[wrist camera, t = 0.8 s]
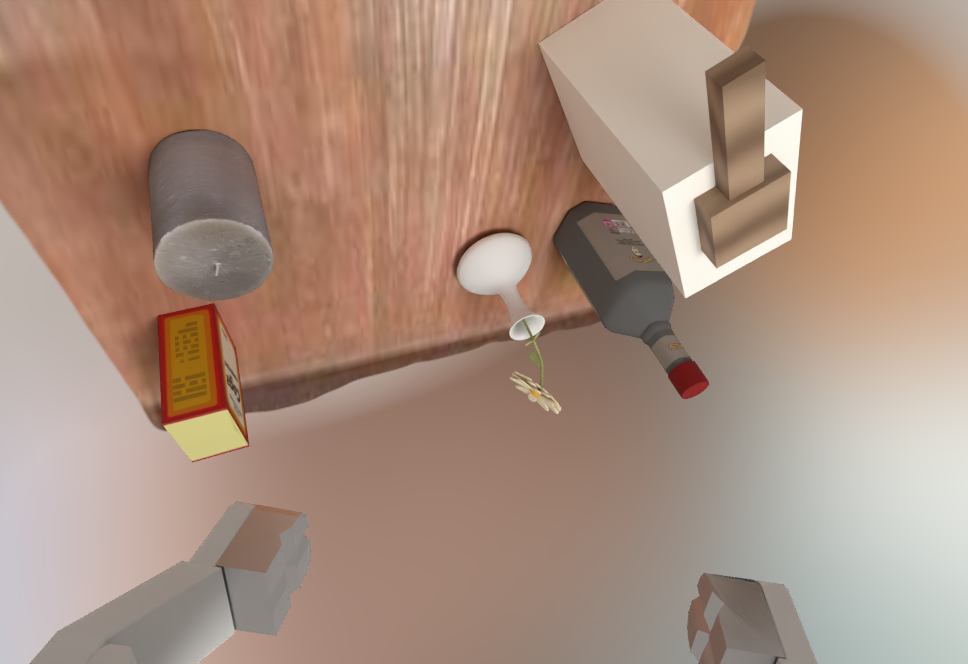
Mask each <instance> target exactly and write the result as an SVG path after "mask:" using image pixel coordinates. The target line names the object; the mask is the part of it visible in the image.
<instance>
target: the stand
mask: <svg viewBox="0 0 968 664" xmlns="http://www.w3.org/2000/svg"><path fill="white" fill-rule="evenodd" d="M538 44H539V47H540V49H541V52H542V55H543V57H544V60H545V63H546V66H547V68H548V71H549V74H550V76H551V79H552V82H553V84H554V87H555V90H556V92H557V95H558V98H559V100H560V103H561V106H562V108H563V111H564V114H565V116H566V119H567V122H568V124H569V127H570V130H571V132H572V135H573V138H574V140H575V143H576V146H577V148H578V151H579V154H580V157H581V159H582V160H583V162H584V163H585V164H586V166H587V167H588V168H589V170H590V171H591V172H592V174H593V175H594V177H595V178H596V179H597V181H598V182H599V183H600V185H601V186H602V187H603V189H604V190H605V191H606V193H607V194H608V195H609V197H610V198H611V199H612V201H613V202H614V203H615V205H616V206H617V207H618V209H619V210H620V211H621V213H622V214H623V215H624V217H625V218H626V219H627V221H628V222H629V223H630V225H631V226H632V227H633V229H634V230H635V232H636V233H637V234H638V236H639V237H640V238H641V240H642V241H643V242H644V244H645V245H646V246H647V248H648V249H649V250H650V252H651V253H652V254H653V256H654V257H655V258H656V260H657V261H658V262H659V264H660V265H661V266H662V268H663V269H664V270H665V272H666V273H667V274H668V275H669V277H670V278H671V280H672V281H673V282H674V284H675V285H676V287H677V288H678V289H679V290H680V292H681V293H682V295H683V296H684V297H685V298H687V297H689V296H690V295H692V294H694V293H696V292H698V291H699V290H701V289H703V288H704V287H706V286H708V285H710V284H712V283H714V282H715V281H717V280H719V279H721V278H722V277H724V276H726V275H728V274H730V273H732V272H733V271H735V270H737V269H739V268H740V267H742V266H744V265H746V264H747V263H749V262H751V261H753V260H755V259H756V258H758V257H760V256H762V255H764V254H766V253H767V252H769V251H771V250H773V249H774V248H776V247H778V246H780V245H782V244H783V243H785V242H787V241H789V240H791V237H792V224H793V213H794V202H795V190H796V178H797V167H798V156H799V143H800V131H801V120H802V108H801V107H799V106H798V105H797V104H796V103H795V102H793V101H792V100H791V99H790V98H789V97H787V96H786V95H785V94H784V93H782V92H781V91H780V90H779V89H778V88H776V87H775V86H774V85H773V84H772V83H770V82H769V81H768V80H767V79H766V78H765V141H764V157H766V156H768V155H769V154H771V153H772V154H773V155H774V156H775V157H776V158H777V159H778V160H779V161H780V162H781V163H782V164H784V165H785V166H786V167H787V168H788V169H789V170H790V171H791V180H790V194H789V207H788V221H787V229H786V230H784V231H782V232H781V233H779V234H777V235H775V236H774V237H772V238H770V239H768V240H766V241H765V242H763V243H761V244H759V245H758V246H756V247H754V248H752V249H750V250H749V251H747V252H745V253H743V254H742V255H740V256H738V257H736V258H734V259H733V260H731V261H729V262H727V263H726V264H724V265H722V266H720V267H718V268H717V269H716V267H715V266H714V265H713V264H712V263H711V261H710V260H709V259H708V258H707V256H706V255H705V254H704V253H703V252H702V250H701V243H700V237H699V230H698V223H697V216H696V209H695V203H694V198H696V197H698V196H699V195H701V194H703V193H705V192H706V191H708V190H710V189H711V188H713V187H715V186H716V183H715V173H714V162H713V151H712V141H711V130H710V120H709V109H708V98H707V88H706V77H705V71H706V70H708V69H710V68H711V67H713V66H714V65H716V64H718V63H719V62H721V61H722V60H724V59H726V58H727V57H729V56H731V55H732V54H734V52H733V51H732V50H731V49H729V48H728V47H727V46H726V45H725V44H723V43H722V42H721V41H720V40H719V39H717V38H716V37H715V36H714V35H713V34H711V33H710V32H709V31H708V30H706V29H705V28H704V27H703V26H702V25H700V24H699V23H698V22H697V21H696V20H694V19H693V18H692V17H691V16H690V15H688V14H687V13H686V12H685V11H684V10H682V9H681V8H680V7H679V6H678V5H676V4H675V3H674V2H673V1H672V0H603V1H602V2H600V3H599V4H597V5H595V6H594V7H592V8H591V9H589V10H588V11H586V12H585V13H583V14H582V15H580V16H579V17H577V18H576V19H574V20H573V21H571V22H570V23H568V24H567V25H565V26H564V27H562V28H561V29H559V30H558V31H556V32H555V33H553V34H551V35H550V36H548V37H547V38H545V39H544V40H542V41H541V42H539V43H538Z"/></svg>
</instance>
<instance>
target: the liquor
mask: <svg viewBox="0 0 968 664" xmlns="http://www.w3.org/2000/svg"><path fill="white" fill-rule="evenodd" d="M554 243H555V245H556V247H557V250H558V252H559V253H560V255H561V257H562V258H563V260H564V262H565V263H566V265H567V267H568V268H569V270H570V271H571V273H572V275H573V276H574V278H575V280H576V281H577V283H578V284H579V286H580V288H581V289H582V291H583V293H584V294H585V296H586V297H587V299H588V301H589V302H590V304H591V306H592V307H593V309H594V310H595V312H596V314H597V315H598V317H599V319H600V320H601V322H602V323H603V325H604V327H605V328H607V329H608V330H609V331H611V332H614V333H618V334H623V335H628V336H632V337H636V338H641V339H642V340H643V342H644V343H645V344H647V345H648V346H649V347H650V349H651V350H652V351H653V353H654V355H655V356H656V357H657V359H658V360H659V362H660V364H661V365H662V366H663V368H664V369H665V371H666V372H667V374H668V377H669V379H670V381H671V382H672V384H673V385H674V387H675V388H676V390H677V391H678V393H679V394H680V396H681V397H682V398H683V399H688V398H692V397H694V396H696V395H698V394H700V393H701V392H702V391H704V390H705V389H706V388H707V386H708V385H709V382H708V380H707V379H706V377H705V376H704V374H703V373H702V371H701V370H700V369H699V367H698V365H697V364H696V363H695V362H694V361H692V359H691V358H690V356H689V355H688V353H687V352H686V351H685V349H684V347H683V346H682V345H681V343H680V342H679V340H678V339H677V337H676V336H675V334H674V333H673V331H672V329H671V325H670V323H669V320H670V315H671V311H672V307H673V303H674V299H675V297H674V291H673V287H672V282H671V279H670V278H669V276H668V275H667V274H666V272H665V271H664V270H663V268H662V267H661V266H660V264H659V263H658V262H657V260H656V259H655V258H654V256H653V255H652V254H651V252H650V251H649V250H648V248H647V247H646V246H645V244H644V243H643V242H642V240H641V239H640V238H639V236H638V235H637V233H636V232H635V231H634V229H633V228H632V227H631V225H630V224H629V223H628V221H627V220H626V219H625V217H624V216H623V215H622V213H621V212H620V211H619V209H618V208H617V207H616V206H614V205H610V204H601V203H592V202H584V203H582V204H580V205H578V206H577V207H575V208H573V209H571V210H570V211H569V212H568V214H567V216H566V217H565V219H564V221H563V223H562V224H561V226H560V228H559V229H558V231H557V233H556V235H555V236H554Z"/></svg>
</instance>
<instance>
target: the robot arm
mask: <svg viewBox="0 0 968 664" xmlns="http://www.w3.org/2000/svg"><path fill="white" fill-rule="evenodd" d="M307 527H308V521H307V515H306V514H304V513H301V512H295V511H290V510H284V509H279V508H273V507H268V506H261V505H255V504H249V503H243V502H235V503H234V504H232V505H231V506H230V507H229V508H228V509H227V510H226V512H225V513H224V515H223V516H222V517H221V518H220V520H219V521H218V523H217V524H216V525H215V527H214V528H213V529H212V531H211V532H210V534H209V535H208V536H207V538H206V539H205V540H204V542H203V543H202V544H201V546H200V547H199V549H198V550H197V551H196V553H195V554H194V555H193V557H192V558H191V559H190V561H189V562H184V561H181V562H179V563H178V564H176V565H174V566H172V567H170V568H169V569H167V570H166V571H163V572H162V573H160V574H158V575H156V576H155V577H153V578H151V579H149V580H148V581H146V582H144V583H142V584H140V585H139V586H137V587H135V588H134V589H132V590H130V591H128V592H126V593H125V594H123V595H121V596H119V597H118V598H116V599H114V600H112V601H111V602H109V603H107V604H105V605H103V606H102V607H100V608H98V609H96V610H95V611H93V612H91V613H89V614H88V615H86V616H84V617H82V618H81V619H79V620H77V621H75V622H73V623H72V624H70V625H68V626H66V627H65V628H63V629H61V630H59V631H58V632H57V633H56V634H55V635H54V636H53V637H52V638H51V640H50V641H49V642H48V643H47V644H46V645H45V646H44V648H43V649H42V650H41V651H40V652H39V653H38V655H37V656H36V657H35V658H34V659H33V660H32V661H31V663H30V664H198V663H199V662H200V661H201V660H203V659H204V658H205V657H206V656H207V655H208V654H210V653H211V652H212V651H213V650H215V649H216V648H217V647H218V646H220V645H221V644H222V643H223V642H224V641H225V640H226V639H228V638H229V637H230V636H231V635H233V634H234V633H235V630H240V631H247V632H255V633H261V634H269V635H277V633H278V631H279V629H280V627H281V625H282V623H283V621H284V619H285V617H286V615H287V613H288V611H289V609H290V607H291V604H290V596H289V595H290V594H291V593H292V592H294V591H295V590H297V589H298V588H300V586H301V584H302V582H303V580H304V578H305V576H306V573H307V569H308V566H309V562H310V554H311V546H310V541H309V539H308V538H307V537H306V536H305V535H304V533H305V531H306V529H307ZM697 587H698V592H699V597H697V598H696V599H694V600H692V602H691V605H690V609H689V612H688V624H687V629H688V641H689V646H690V651H691V653H692V654H693V655H694V656H695V657H696V659H697V660H698V661H699V664H817V661H816V658H815V656H814V653H813V651H812V648H811V646H810V643H809V641H808V638H807V636H806V633H805V631H804V628H803V626H802V623H801V621H800V618H799V616H798V613H797V611H796V608H795V606H794V603H793V601H792V598H791V595H790V593H789V591H788V589H787V588H786V587H785V586H784V584H777V583H770V582H764V581H755V580H752V579H744V578H737V577H730V576H723V575H716V574H708V573H703V575H702V576H701V577H700V579H699V582H698V585H697Z"/></svg>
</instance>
